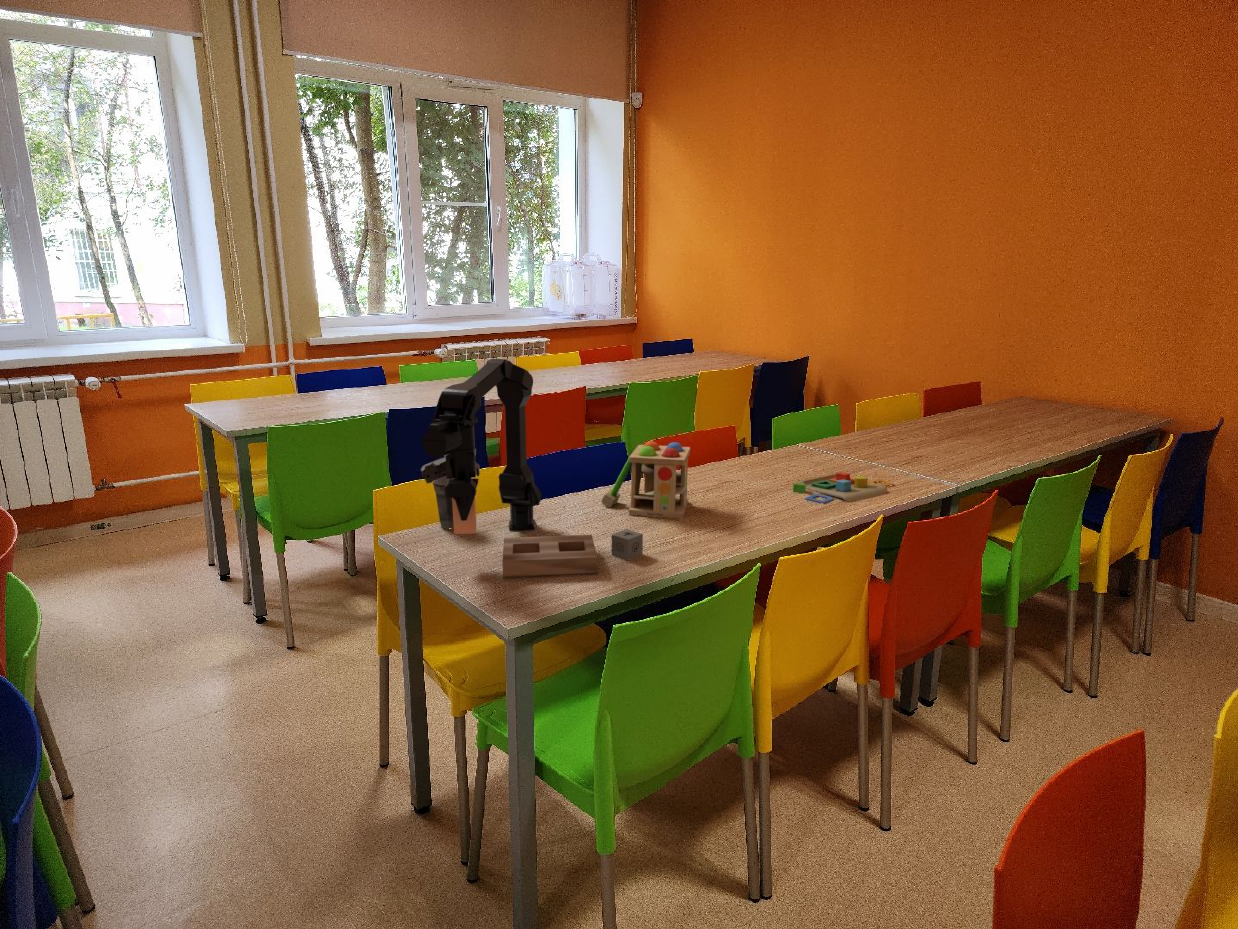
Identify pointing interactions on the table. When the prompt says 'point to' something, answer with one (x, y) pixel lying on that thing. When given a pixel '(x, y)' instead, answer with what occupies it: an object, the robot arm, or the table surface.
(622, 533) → the dice cube
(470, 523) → the pin
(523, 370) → the robot arm
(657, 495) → the pounding bench toy
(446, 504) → the beverage cup
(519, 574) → the socket block
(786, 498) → the table surface
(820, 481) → the shape sorter
